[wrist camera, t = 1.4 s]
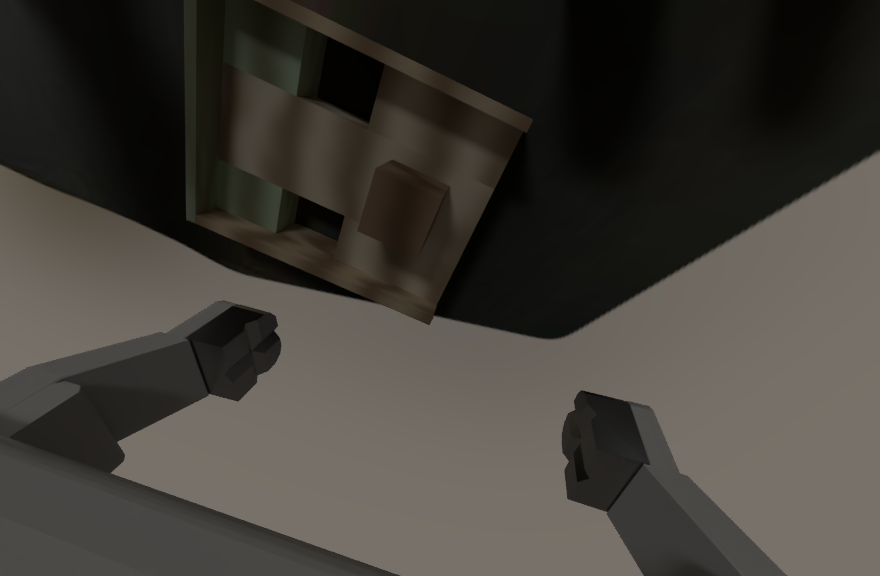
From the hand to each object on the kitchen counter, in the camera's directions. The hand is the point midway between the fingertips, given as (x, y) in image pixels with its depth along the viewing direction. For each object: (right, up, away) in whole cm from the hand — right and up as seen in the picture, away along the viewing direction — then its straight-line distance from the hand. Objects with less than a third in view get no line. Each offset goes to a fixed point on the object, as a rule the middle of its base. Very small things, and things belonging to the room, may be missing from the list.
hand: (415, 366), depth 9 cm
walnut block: (-2, +11, +24) cm, 27 cm away
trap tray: (-8, +16, +27) cm, 32 cm away
